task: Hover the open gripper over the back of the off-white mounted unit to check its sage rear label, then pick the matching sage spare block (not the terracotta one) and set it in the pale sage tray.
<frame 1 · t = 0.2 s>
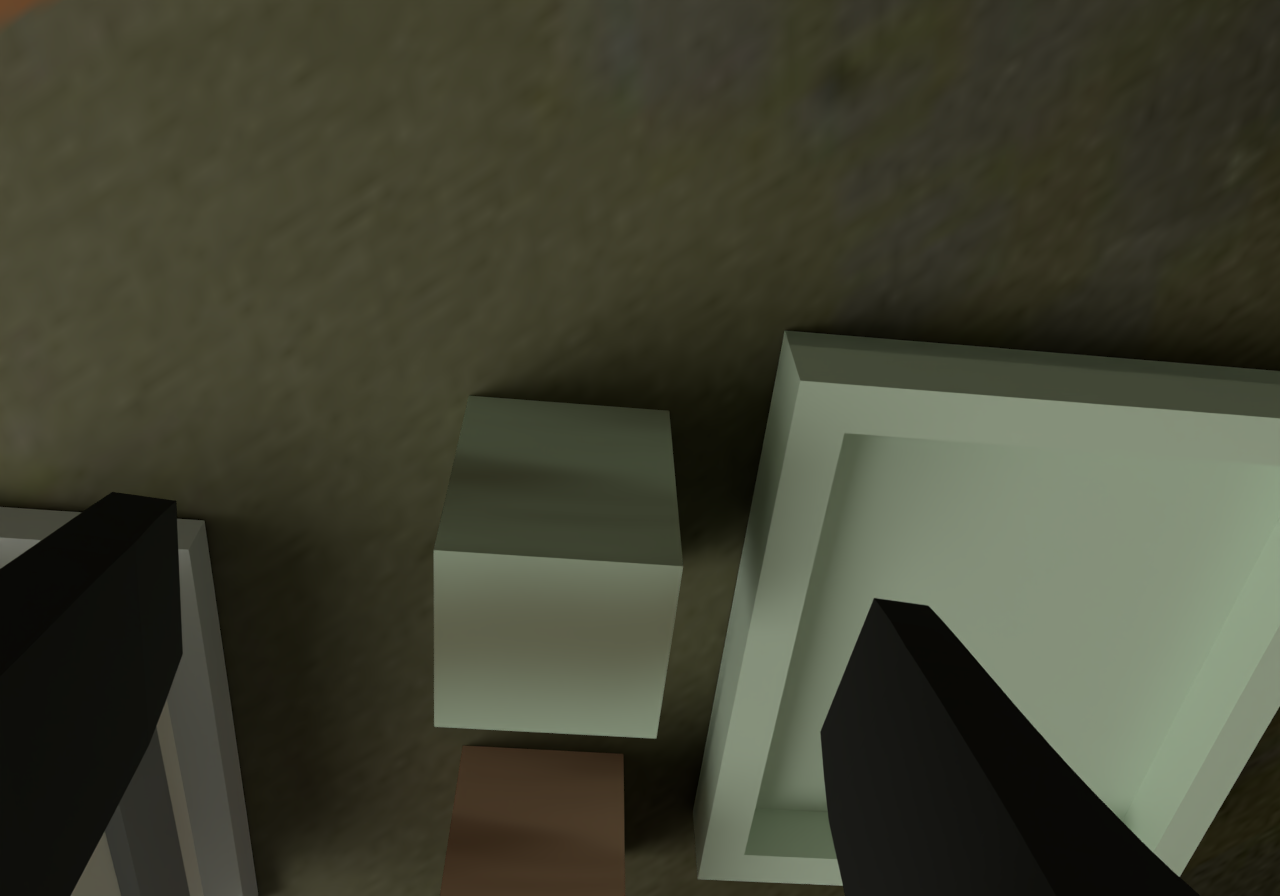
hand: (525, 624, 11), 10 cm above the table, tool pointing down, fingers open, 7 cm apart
sage tray: (988, 624, 25), on the table
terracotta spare: (539, 801, 28), on the table
mounted unit: (87, 727, 26), on the table
sage spare: (563, 484, 22), on the table
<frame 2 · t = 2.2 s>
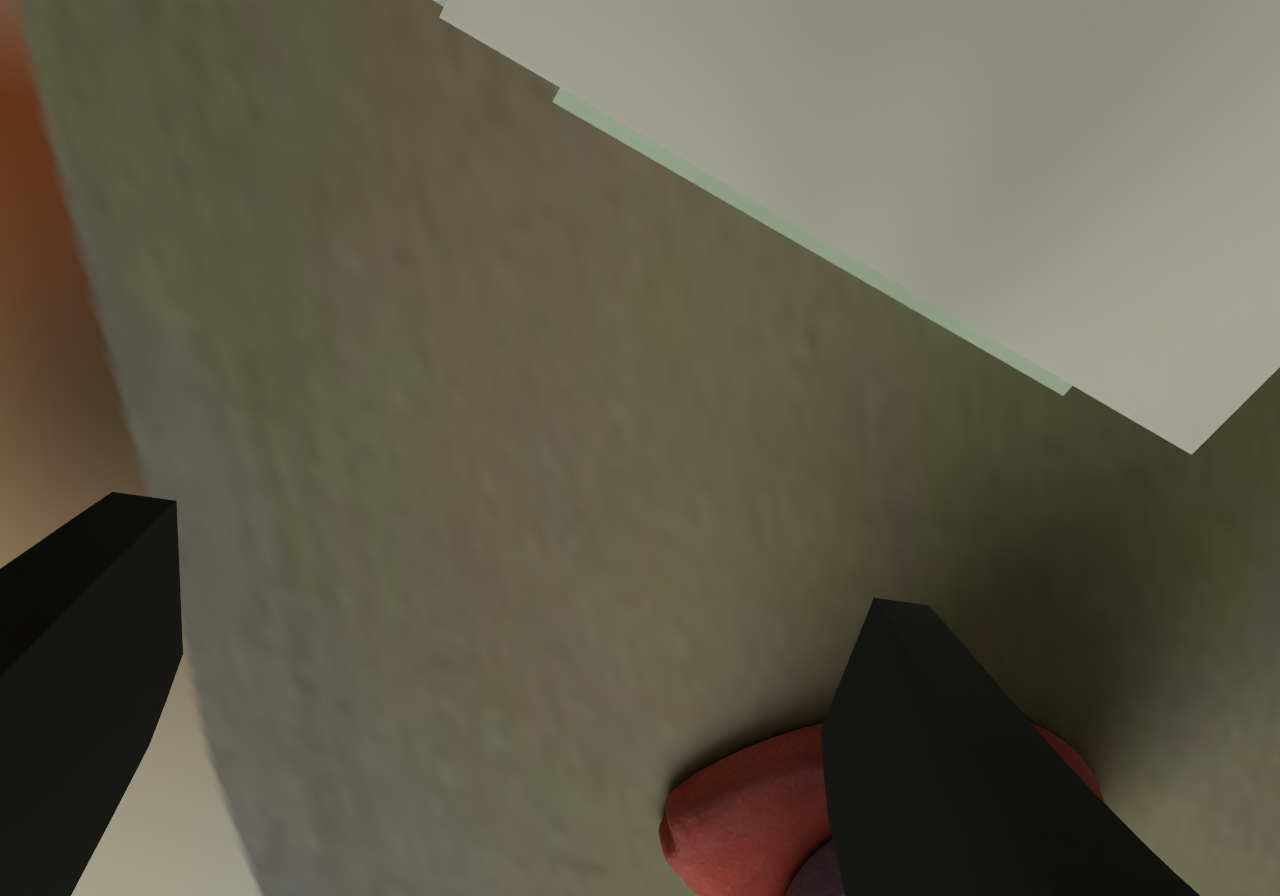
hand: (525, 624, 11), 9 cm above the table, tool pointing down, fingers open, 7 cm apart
stacking bear: (904, 825, 28), on the table
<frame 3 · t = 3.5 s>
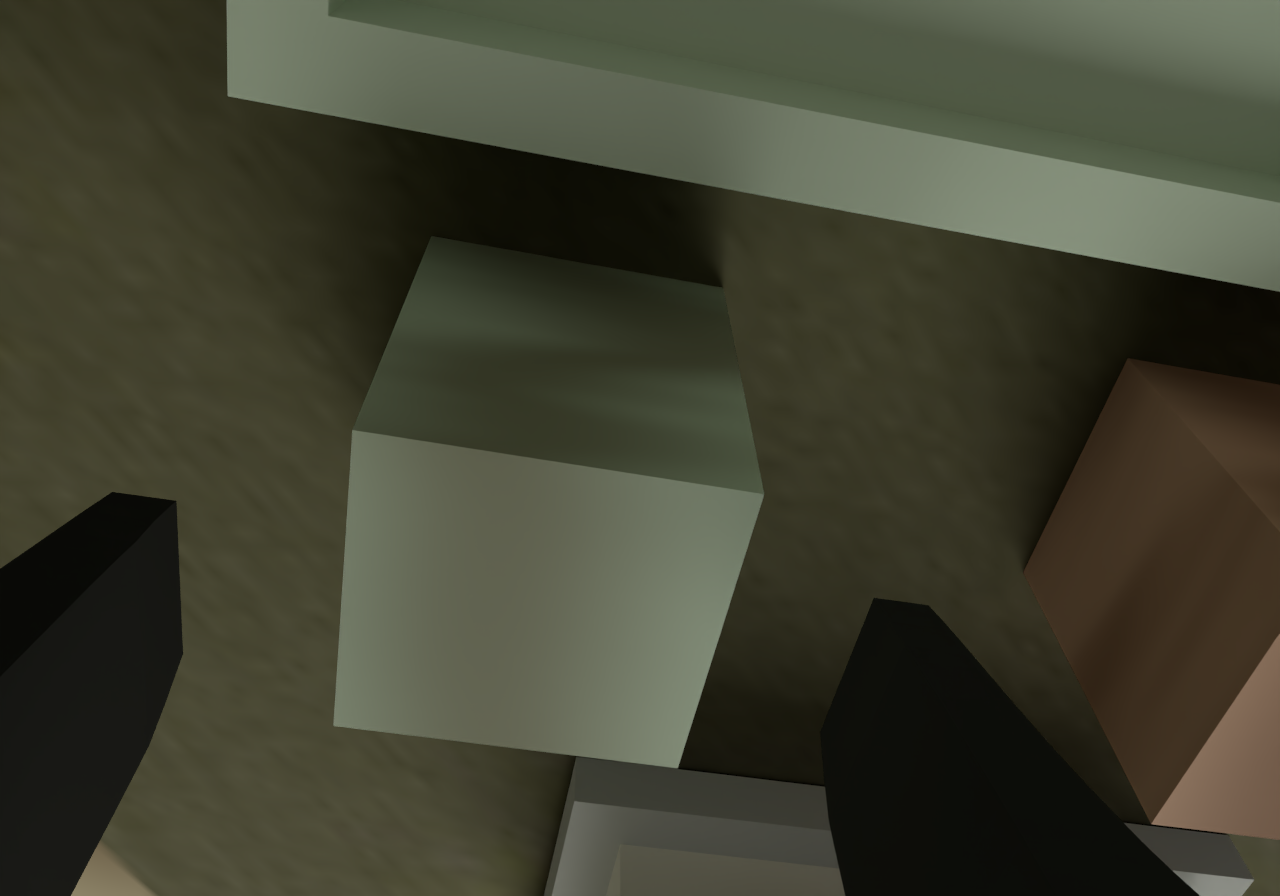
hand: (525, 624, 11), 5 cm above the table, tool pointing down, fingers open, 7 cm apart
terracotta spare: (1190, 489, 17), on the table
sage spare: (557, 388, 16), on the table
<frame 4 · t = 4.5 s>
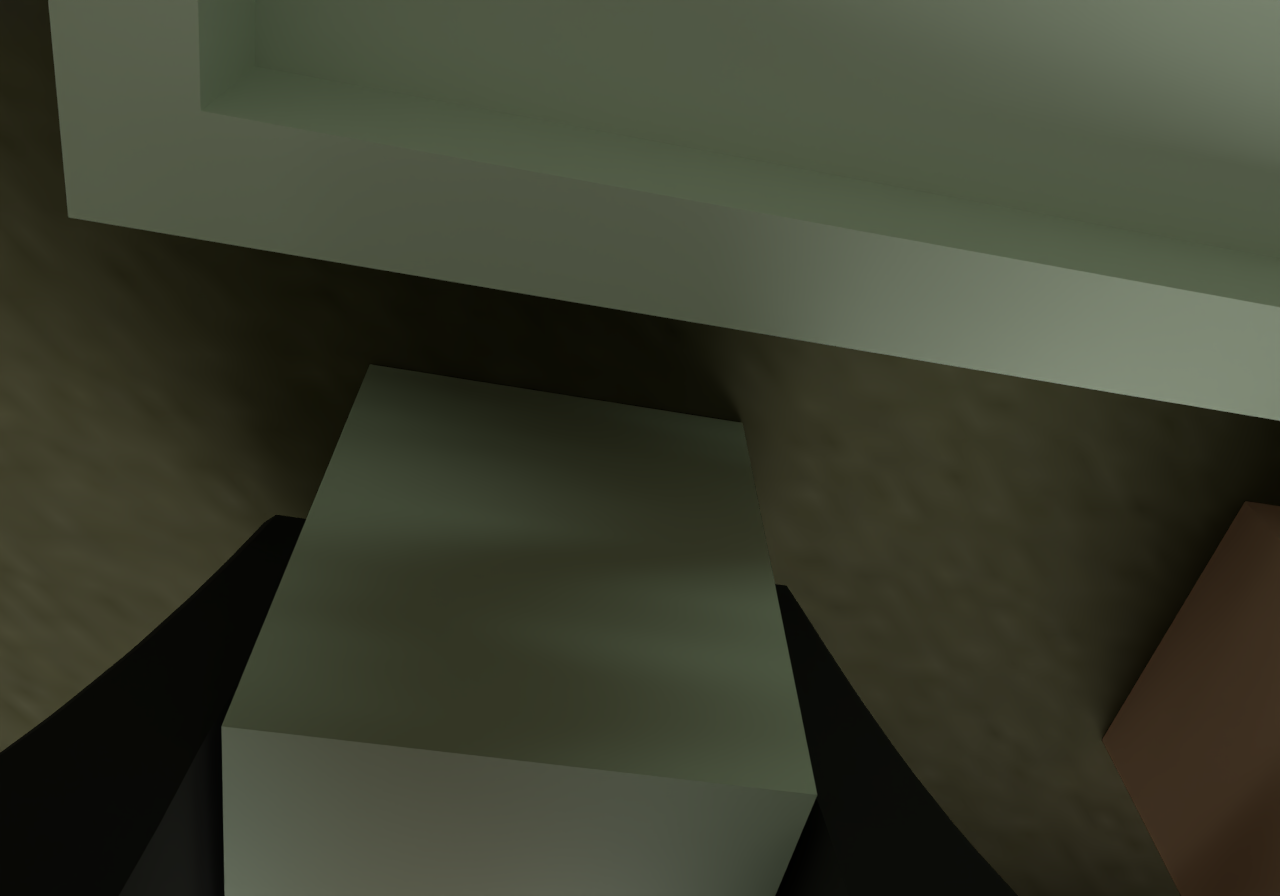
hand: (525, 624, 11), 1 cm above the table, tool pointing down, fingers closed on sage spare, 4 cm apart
sage spare: (533, 542, 12), on the table, touching gripper
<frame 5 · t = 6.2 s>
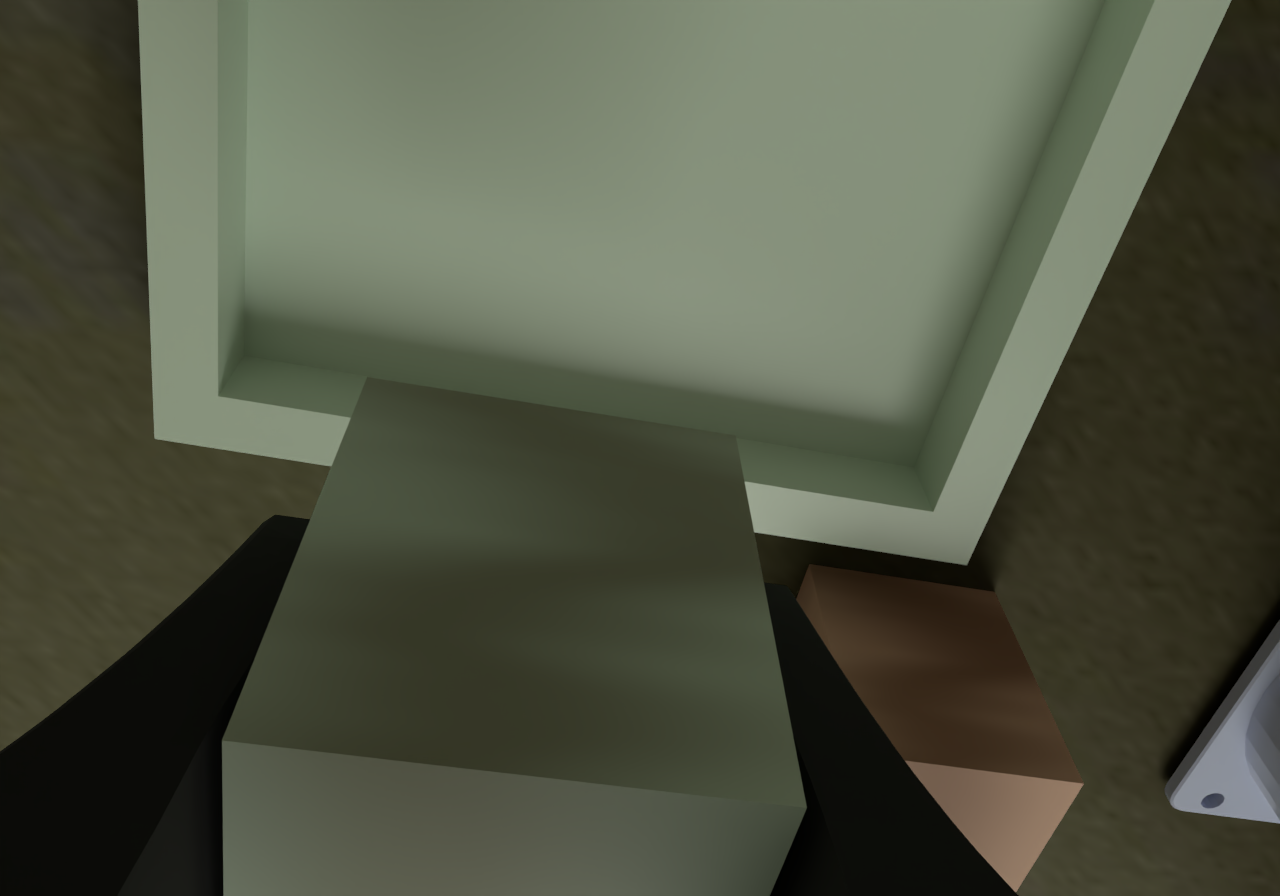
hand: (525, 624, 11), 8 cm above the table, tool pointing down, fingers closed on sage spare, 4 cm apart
sage tray: (650, 124, 17), on the table
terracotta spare: (871, 648, 23), on the table
sage spare: (529, 552, 13), point 7 cm above the table, touching gripper
when the fingers open (3 cm above the table, at t = 7.9 s): sage spare stays where it is, resting on sage tray.
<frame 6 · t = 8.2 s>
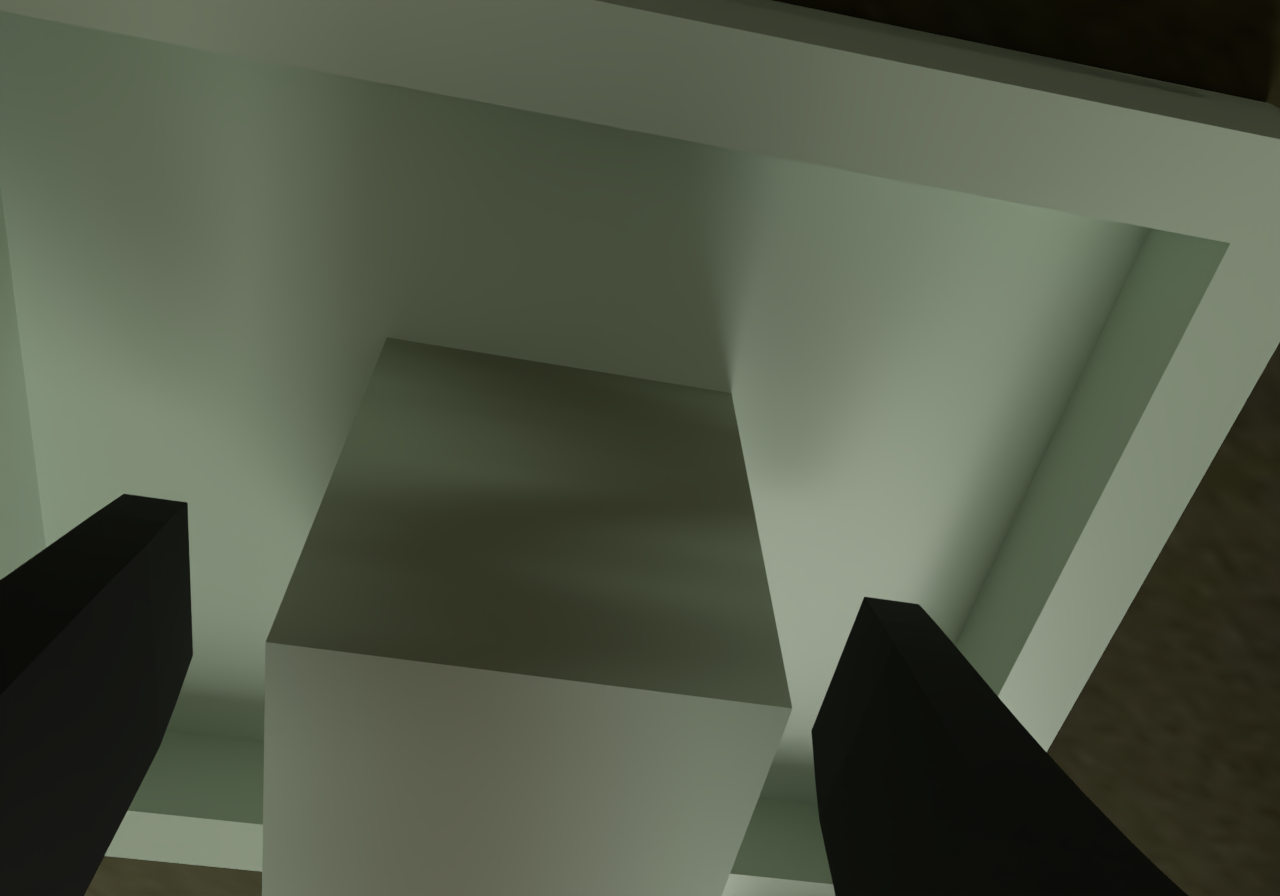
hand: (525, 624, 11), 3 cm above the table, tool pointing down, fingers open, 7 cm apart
sage tray: (541, 467, 14), on the table
sage spare: (537, 505, 13), point 1 cm above the table, touching sage tray
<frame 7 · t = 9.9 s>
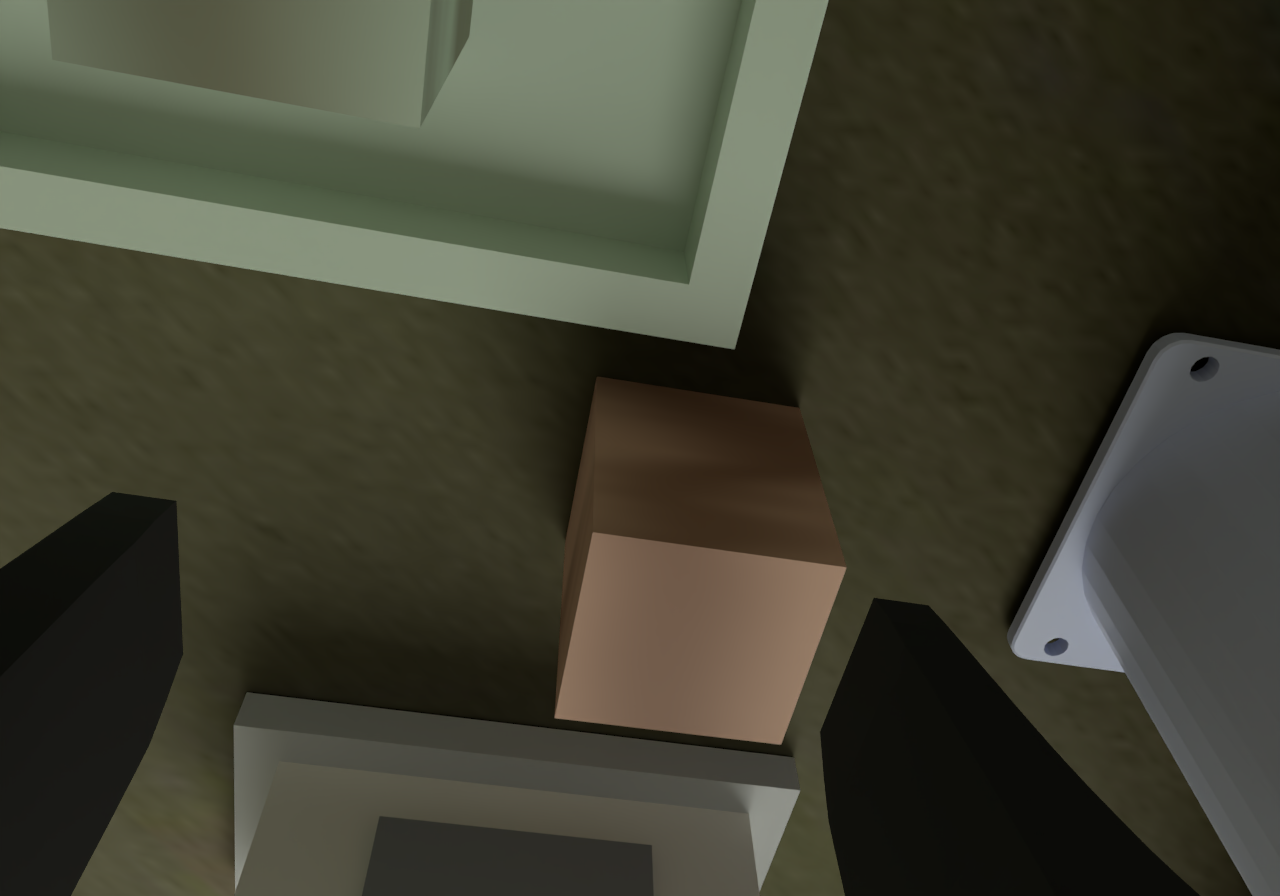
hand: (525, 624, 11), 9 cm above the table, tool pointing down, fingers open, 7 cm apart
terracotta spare: (677, 476, 22), on the table
mounted unit: (510, 822, 27), on the table
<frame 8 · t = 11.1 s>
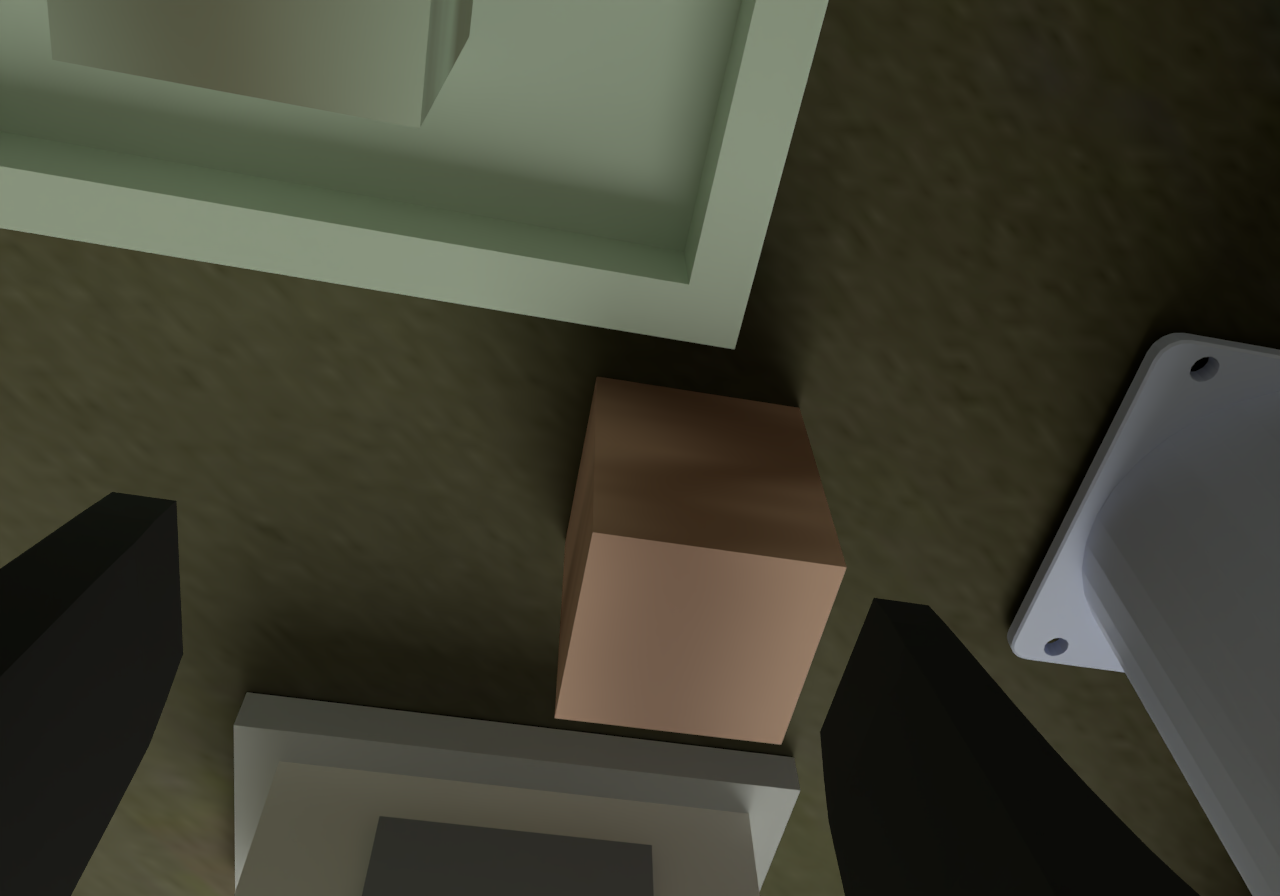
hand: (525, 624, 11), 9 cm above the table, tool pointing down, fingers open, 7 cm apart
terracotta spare: (677, 476, 22), on the table
mounted unit: (510, 822, 27), on the table
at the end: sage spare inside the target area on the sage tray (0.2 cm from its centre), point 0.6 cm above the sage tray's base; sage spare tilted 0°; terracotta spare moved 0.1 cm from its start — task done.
